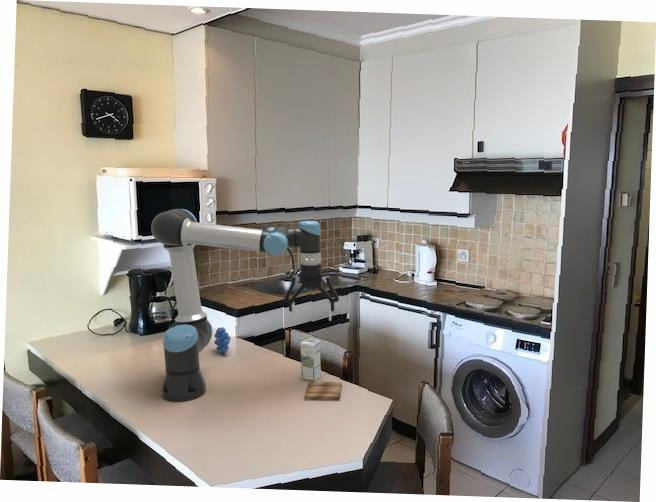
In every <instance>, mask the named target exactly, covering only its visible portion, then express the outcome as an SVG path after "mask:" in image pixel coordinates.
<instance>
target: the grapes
mask: <svg viewBox="0 0 656 502" xmlns="http://www.w3.org/2000/svg"><path fill="white" fill-rule="evenodd" d="M213 336H214V338H215V340H214V343H213V344H215V346H216V350H217V351H218V352H219V353H221V355H222V354H223V355H224V354H225V353H226V352H227V351H228V350H229V345H230V342H231V338H232V337H231V336H230V335H229V333H228V332H227V330H226V328H225V327H222V326H221V327H217V329H215V333H214V335H213Z"/></svg>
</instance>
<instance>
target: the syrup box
mask: <svg viewBox="0 0 656 502" xmlns="http://www.w3.org/2000/svg"><path fill="white" fill-rule="evenodd" d="M300 367H301V369H300V371H301V380H306V381H310V382H317V380H318V379H319V378H321V376H322V369H321V341H320V340H318V339H312V338H311V339H310V338H305V339H304V340H302V341H301V342H300Z"/></svg>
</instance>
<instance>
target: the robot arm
mask: <svg viewBox="0 0 656 502" xmlns="http://www.w3.org/2000/svg"><path fill="white" fill-rule="evenodd" d="M150 230H151V234H152V236H153V237H154V239H155V240H156V241H157V242H158V243H160V244H162V245H163V249H165V250H166V251H167V252H168V253H169V260H170V261H169V262H170V267H171V275H172V281H173V286H174V291H175V292H174V294H175V300H176V306H177V316H176V317H175V319H174V322H175V326H173V327H170V328H169V329H167V330H166V331H164V333H163V339H162V340H163V342H162V345H163V352H164V353H163V354H164V363H165V365H164V367H165V375H164V381H163V384H162V388H161V396H162V398H164V399H165V400H167V401H170V402H186V401H191V400H196V399H198V398H200V397H201V396H202V395H204V394H205V393H206V391H207V384H206V381H205V379H204V377H203V374H202V372H201V368H200V366H201V365H200V353H201V352H202V351H203V350H204V349H205V347H207V345H209V344H210V342H211V339H212V336H213V327H212V324H211V322H210V321H209V320H208V315H207V313H206V312H204V311H203V310H202V303H201V297H200V288H199V281H198V276H197V275H198V274H197V270H196V261H195V255H194V248H195V246H197V245H199V246H206V247H207V246H208V247H215V248H224V249H231V250H232V249H234V250H243V251H252V252H260V253H267V254H268V255H270V256H273V257H274V256H280V255H282V254H283V253H285V252H286V251H287V249H291V248H292V249H293V248H295V249H296V248H299V254H300V255H299V257H300V259H299V261H300V263H301V264H300V276H296V275H293V276H292V278H291V284H290V285H289V288H288V290H287V292H286V294H285V296H284V298H283V302H285V303H288V311H289V312H291V313H292V314H291V318H292V319H291V321H292V322H294V321H295V319H296V305H295V304H296V303H295V301H294V300H295V299H296V298H297V297H299V295H300V293H302V291H303V290H304V289H306V290H315V289H318V290H319V291H320V293H322V294H323V295H324V297H325V298H326V299H327V300H328V301H329V302H328V321H330V322H331V321H332V312H334V311H335V303H338V302H339V301H340V298H339V297H340V296H338V293H337V292H336V290H335V288H334V286H333V284H332V282H331V278H330V277H331V276H330V275H327V276H322V264H321V263H322V256H321V255H322V254H321V253H322V251H321V250H322V249H321V248H322V247H321V242H322V241H321V240H322V239H321V238H322V237H321V235H322V234H321V224H320V223H319V222H318V221H317V220H316V221H315V220H303V221H300V222H299V225H298V226H292V227H291V226H289V227H288V226H286V227H285V226H284V227H283V226H280V227H278V226H274V227H268V228H267V229H266V230H265V229H258V228H249V227H248V228H247V227H240V226H232V225H223V224H214V223H206V222H198V221H197V218H196V217H195V215H194V214H193V213H192V212H191V211H189V210H187V209H184V208H174V209H170V210H167V211H163V212H160V213H158V214H157V215H156V216H155V217H154V218H153V220H152V222H151V227H150ZM322 281H323V282H324V283H326V285H327V287H328V289H329V291H330V292H331V294H330V293H329V291H327V290H326V288H325V287H324V286H323V285H322V284H321V283H322ZM298 282H300V283H301V285H300V287H299V288H298V289H297V290H296V291H295V293H294V294H293V295H292V296H291V293H292V291H293V289H294V287H295V285H296V284H297V283H298ZM290 296H291V297H290ZM332 296H333V297H332Z"/></svg>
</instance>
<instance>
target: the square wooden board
mask: <svg viewBox="0 0 656 502" xmlns="http://www.w3.org/2000/svg"><path fill="white" fill-rule="evenodd" d="M342 386H343V383H342V381H308V384H307V387H306V390H305V393H304V395H303V396H304V401H329V402H330V401H331V402H332V401H333V402H334V401H337V402H339V401H341V393H342Z"/></svg>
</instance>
